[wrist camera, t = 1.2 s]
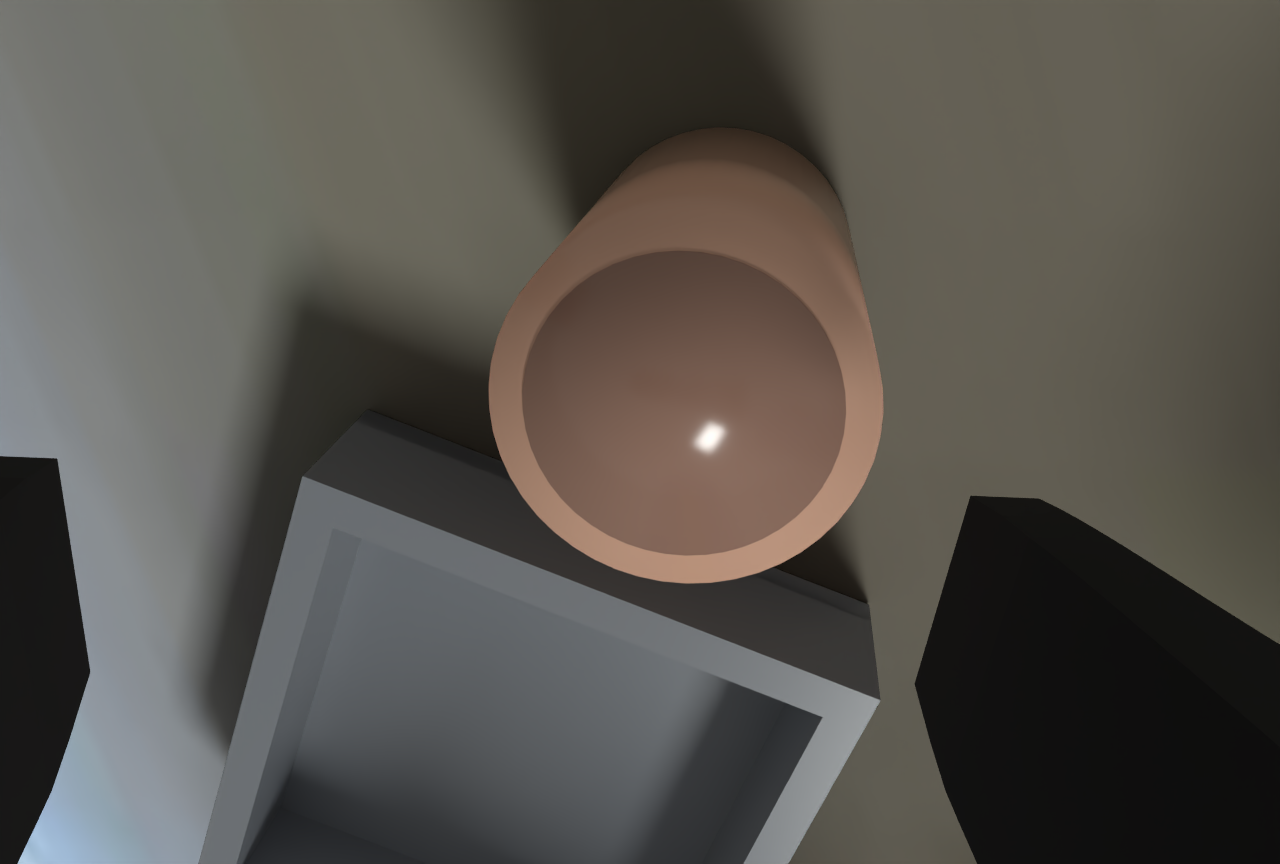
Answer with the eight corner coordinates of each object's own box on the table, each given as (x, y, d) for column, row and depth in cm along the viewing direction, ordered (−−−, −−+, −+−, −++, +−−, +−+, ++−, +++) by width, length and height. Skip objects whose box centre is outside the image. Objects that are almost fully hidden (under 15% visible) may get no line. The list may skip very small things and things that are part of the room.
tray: (868, 605, 21) (880, 700, 18) (678, 961, 25) (663, 1084, 22) (367, 409, 21) (302, 476, 18) (254, 800, 25) (187, 904, 22)
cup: (896, 186, 18) (954, 307, 12) (789, 421, 20) (787, 638, 13) (643, 85, 18) (558, 149, 12) (556, 329, 20) (442, 503, 13)
